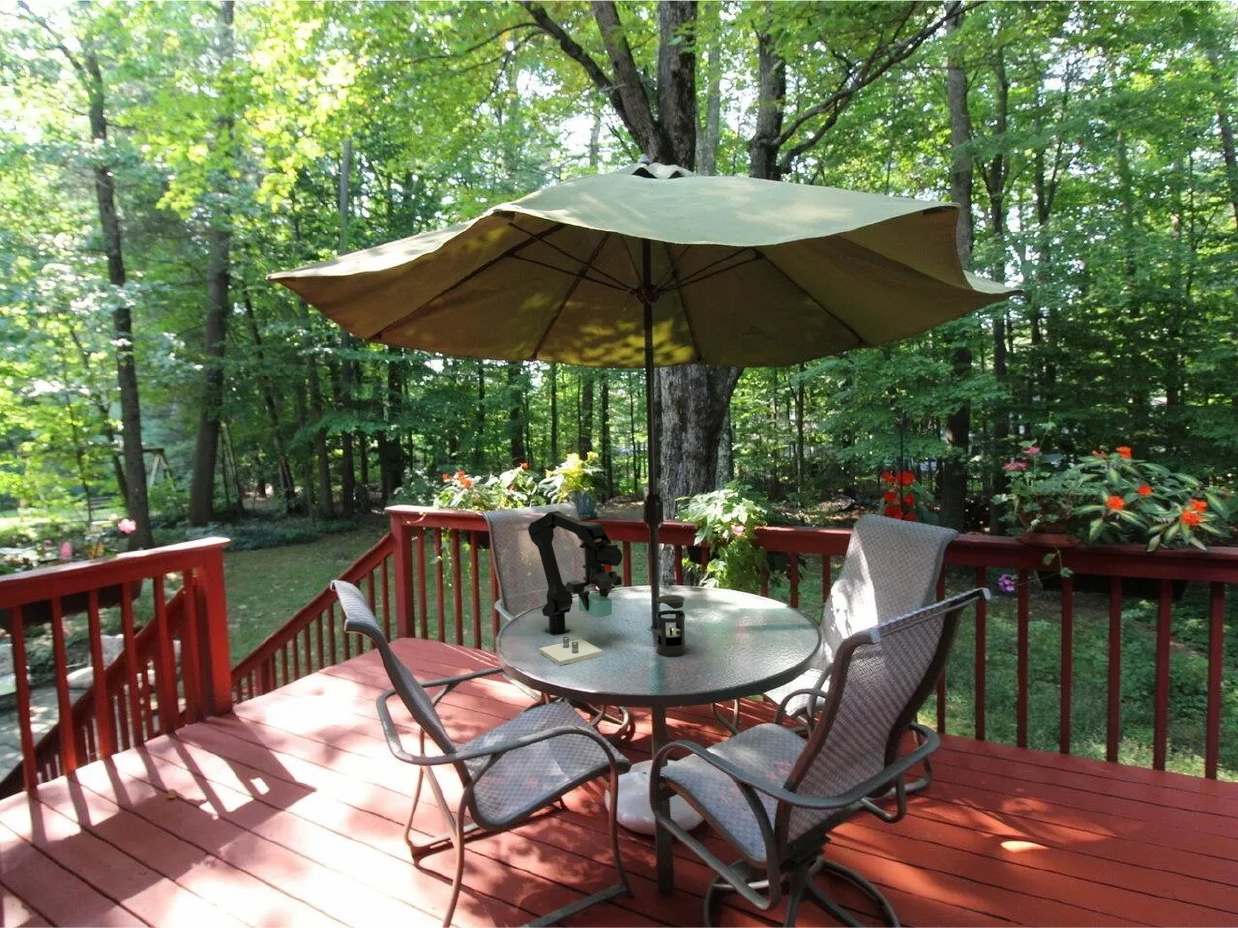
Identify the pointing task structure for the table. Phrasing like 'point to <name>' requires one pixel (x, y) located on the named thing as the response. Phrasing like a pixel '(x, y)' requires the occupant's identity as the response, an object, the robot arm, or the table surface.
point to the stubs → (574, 645)
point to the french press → (670, 638)
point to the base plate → (566, 655)
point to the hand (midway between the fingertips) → (595, 608)
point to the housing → (597, 605)
